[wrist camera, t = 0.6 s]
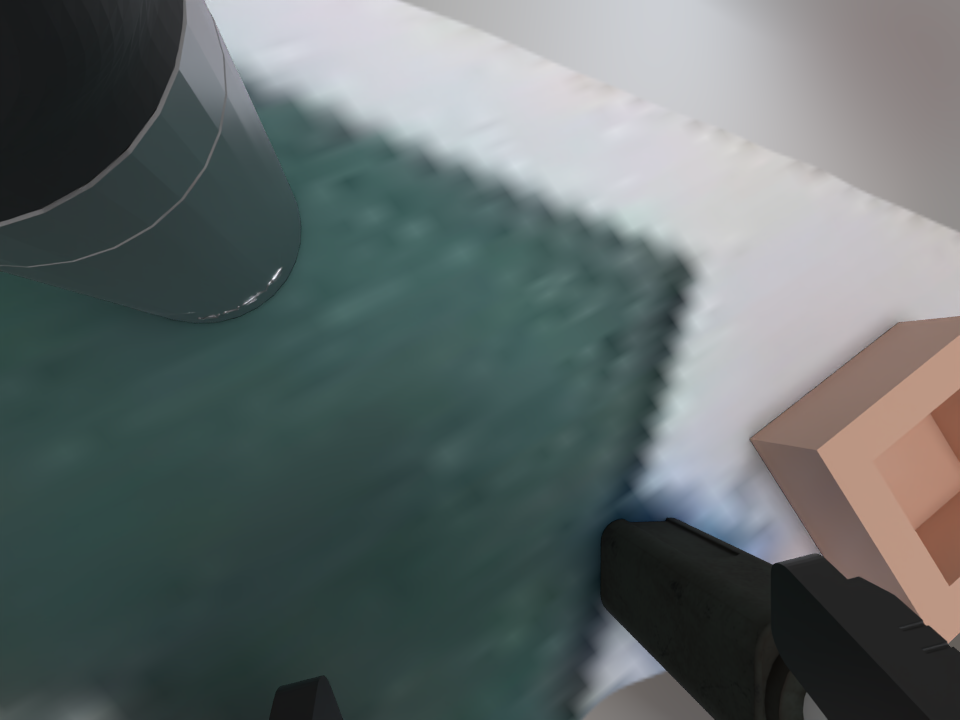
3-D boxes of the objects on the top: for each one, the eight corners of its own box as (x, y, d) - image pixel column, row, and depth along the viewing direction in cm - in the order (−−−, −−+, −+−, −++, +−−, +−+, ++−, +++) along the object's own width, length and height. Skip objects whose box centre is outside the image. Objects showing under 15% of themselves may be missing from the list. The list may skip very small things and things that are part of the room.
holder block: (749, 438, 32) (816, 450, 27) (898, 322, 34) (986, 313, 29) (857, 609, 33) (940, 650, 28) (996, 486, 35) (1097, 504, 30)
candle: (688, 516, 31) (1814, 1023, 7) (688, 610, 31) (1839, 1478, 7) (600, 519, 31) (1531, 1114, 6) (600, 616, 30) (1552, 1643, 6)
